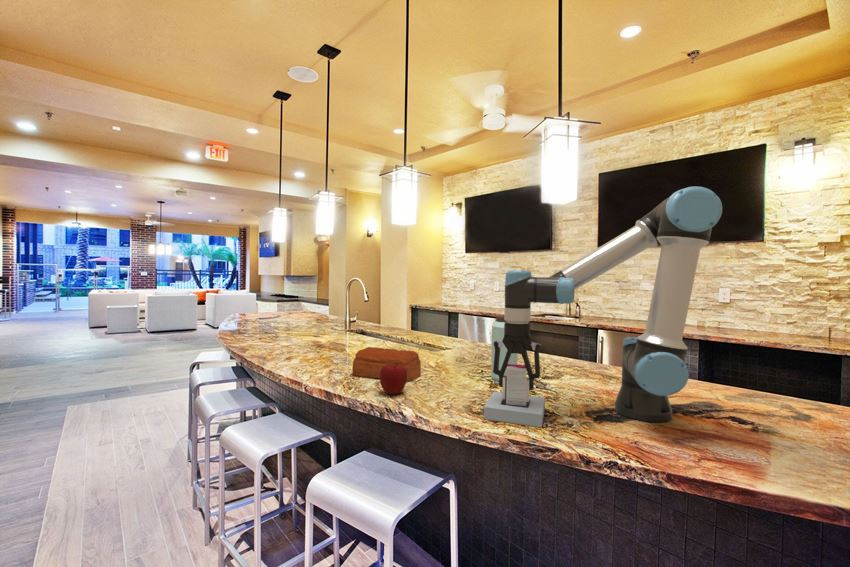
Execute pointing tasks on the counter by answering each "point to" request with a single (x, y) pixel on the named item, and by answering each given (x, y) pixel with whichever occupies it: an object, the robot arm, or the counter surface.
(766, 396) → the counter surface
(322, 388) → the counter surface
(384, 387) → the apple
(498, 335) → the water bottle
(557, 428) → the counter surface
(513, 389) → the supplement box
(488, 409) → the socket block
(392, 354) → the bread
